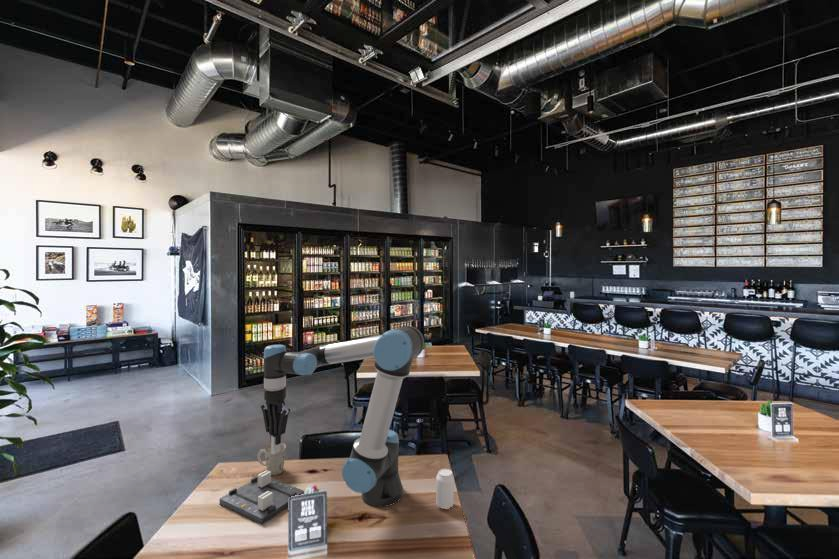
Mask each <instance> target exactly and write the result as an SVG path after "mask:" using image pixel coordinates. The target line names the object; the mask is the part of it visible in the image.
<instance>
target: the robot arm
mask: <svg viewBox="0 0 839 559" xmlns="http://www.w3.org/2000/svg"><path fill="white" fill-rule="evenodd" d="M424 348H425V339H424V335H423V334H422V332H421V331H420V330H419V329H418V328H416V327H415V326H411V325H403V326H399V327H398V328H397V327H396V328H394V329H390V330H387V331H385V332H384V333H382V334H380V335H375V336H369V337H363V338H359V339H352V340H347V341H346V340H345V341H342V342H335V343H330V344H320V345H317V346H315V347H312V348H308V349H305V350H301V351H298V352H296V351H295V352H294V351H293V352H292V351H287V348H286V345H284V344H271V345H267V346H266V347H265V348H264V351H263V359H262V360H263V373H264V374H263V375H264V376H263V389H264V390H263V399H264V401H265V403H264V404H262V405H260V408H261V411H262V414H263V421H264V426H265V427H264V430H265V431H266V432H265V433H269V434H268V435H270V437H269V438H270V440H269V442H270V444H271V454H276V453H278V452H280V443H282V439H281V438H282V435H283V434H286V430H287V425H288V418H289V415H290V412H291V409H290V408H287V406H286V402H285V399H286V398H287V388H286V386H287V374H291V375H299V376H309V375H312V374H313V373H314V371H316V369H317V368H319V367H323V366H330V365H333V364H340V363H347V362H353V361H360V360H367V359H372V358H373V359H375V361H374V366H373V367H374V369H375V371H376V372H377V373H376V375H375V380H374V383H373V386H372V387H373V388H372V391H371V395H370V399H369V403H368V405H367V410H366V414H365V417H364V422H363V424H362V429H361V433H360V437H358V438H357V439H355V440H354V442H353V445H352V449H351V453H350V456H349V458H347V459H346V460H345V462H344V464H343V466H342V468H341V476H342V479H343V481H344V482H345V484H346V486H347V487H348V488H349V489H350V490H351V491H353V492H355V493H358V494H361V500H362V501H363V502H364V503H366V504H367V505H369V506H372V507H378V506H383V507H387V506H386V505H389V506H391V505H390V504H392V505H394V504H393V503H395V502H397V501H398V500H399V499H400V498H401V497H402V498H403V496H402V494H403V495H404V487H403V484H402V481H401V476H400V473H399V451H400V450H399V444H400V441H399V434H398V433H397V432H396V431H394V430H392V429H390V427H391V424H392V420H393V418H394V414H395V409H396V406H397V402H398V399H399V395H400V391H401V388H402V384H403V380H404V379H405V378H406V377H408V376H409V375H410V372H411V368H412V364H413V360H414V359H416V358H418V357H419V356H420V355H421V354H422V352H423V350H424ZM402 498H401V499H402ZM401 499H400V500H401ZM400 500H399V501H400ZM399 501H398V502H399ZM398 502H397V503H398ZM395 504H396V503H395Z"/></svg>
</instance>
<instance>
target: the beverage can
mask: <svg viewBox="0 0 839 559" xmlns="http://www.w3.org/2000/svg"><path fill="white" fill-rule="evenodd" d="M435 479H436V480H435V486H436V488H435V490H436V491H435V501H436V502H435V504H437V505H436V507H437V506H439V507H441V508H450V507H451V506H452V505H453V504H454V505H455V477H454V474H453V471H452V470H451V469H449V468H441V469H439V470H438V472H437V474H436V477H435ZM439 507H438V508H439Z"/></svg>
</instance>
